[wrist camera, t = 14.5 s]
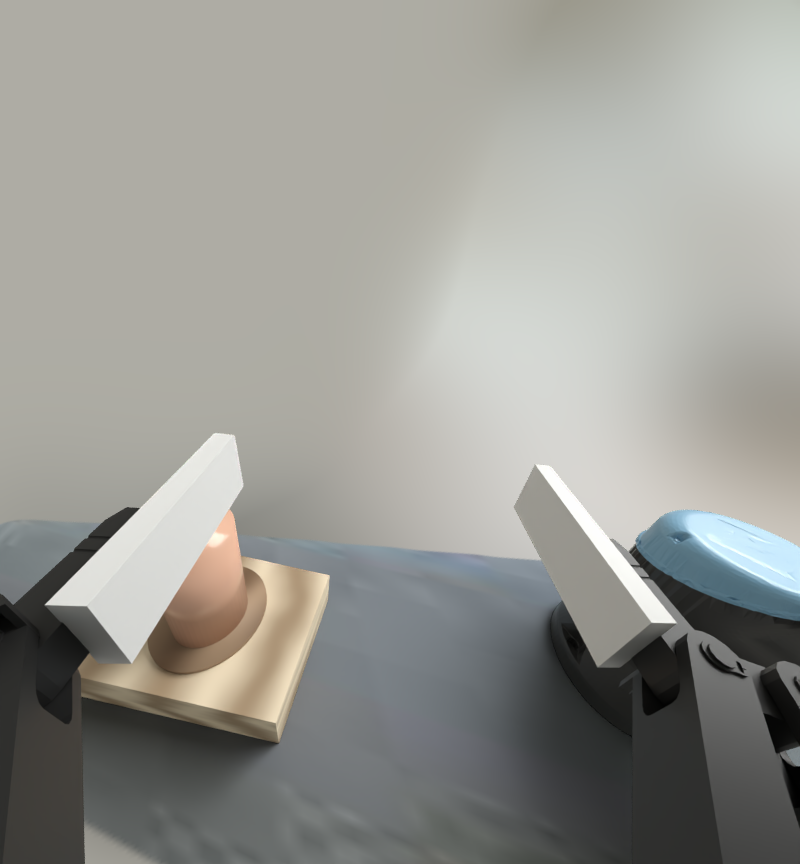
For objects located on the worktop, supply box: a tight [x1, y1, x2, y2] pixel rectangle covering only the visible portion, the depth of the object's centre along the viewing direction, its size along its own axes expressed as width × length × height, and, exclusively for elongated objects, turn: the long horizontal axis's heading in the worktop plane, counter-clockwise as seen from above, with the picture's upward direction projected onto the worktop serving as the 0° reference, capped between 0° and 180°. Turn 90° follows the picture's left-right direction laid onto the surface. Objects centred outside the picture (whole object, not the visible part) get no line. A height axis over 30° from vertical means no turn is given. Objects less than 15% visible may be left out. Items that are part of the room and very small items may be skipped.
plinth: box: [78, 556, 330, 743], centre depth 30 cm, size 20×13×6 cm, turn 83°
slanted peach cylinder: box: [164, 510, 248, 648], centre depth 26 cm, size 6×6×12 cm
